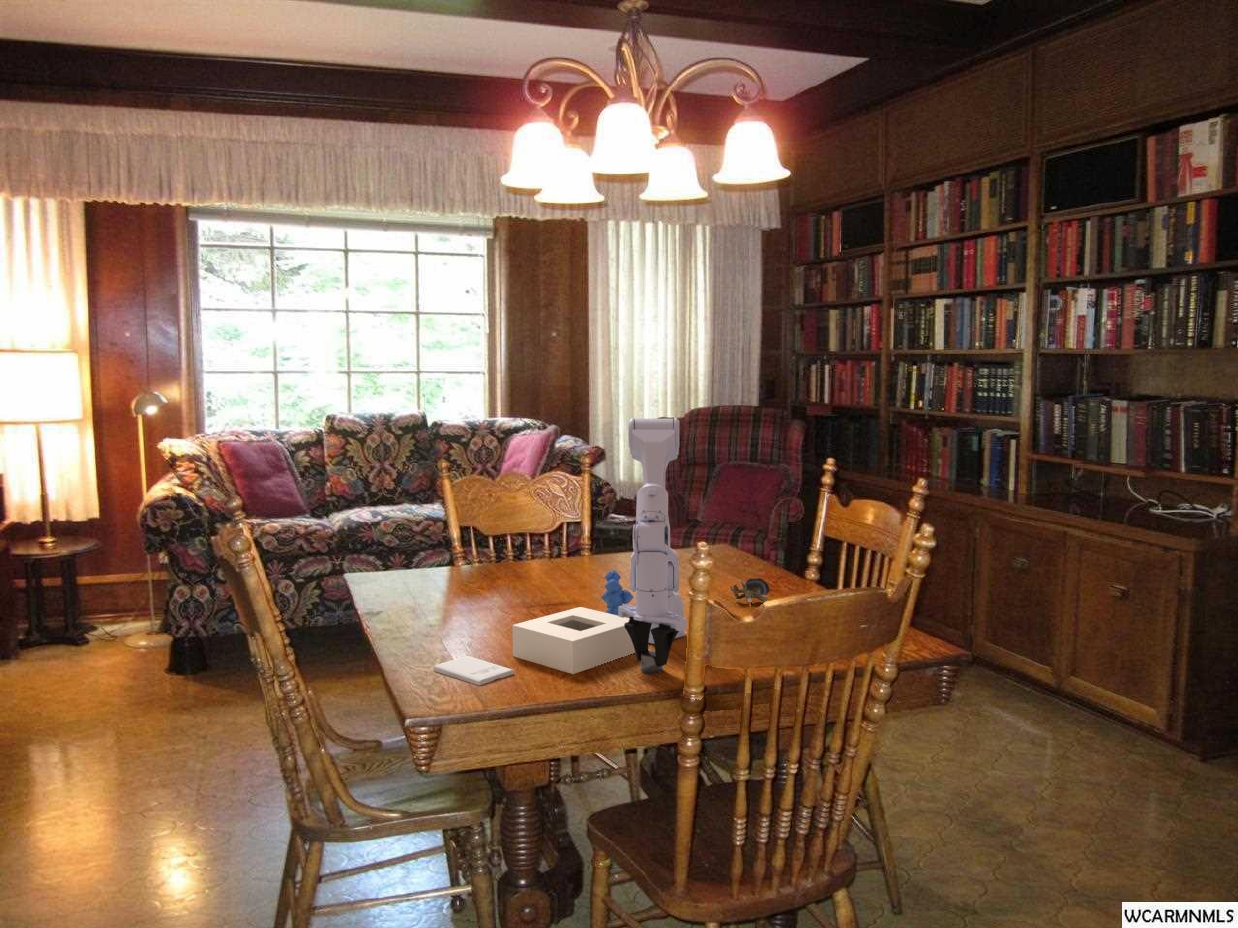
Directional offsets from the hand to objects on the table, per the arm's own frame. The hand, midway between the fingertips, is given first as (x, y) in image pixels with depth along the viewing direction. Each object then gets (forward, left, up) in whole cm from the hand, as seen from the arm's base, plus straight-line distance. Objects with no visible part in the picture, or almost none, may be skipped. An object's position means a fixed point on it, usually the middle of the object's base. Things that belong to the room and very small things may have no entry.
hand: (651, 662), depth 177 cm
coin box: (+2, -17, -1) cm, 17 cm away
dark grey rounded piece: (0, 0, -1) cm, 1 cm away
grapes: (-18, -25, -2) cm, 31 cm away
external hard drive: (+22, -23, -2) cm, 32 cm away
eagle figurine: (-51, -14, -2) cm, 53 cm away
